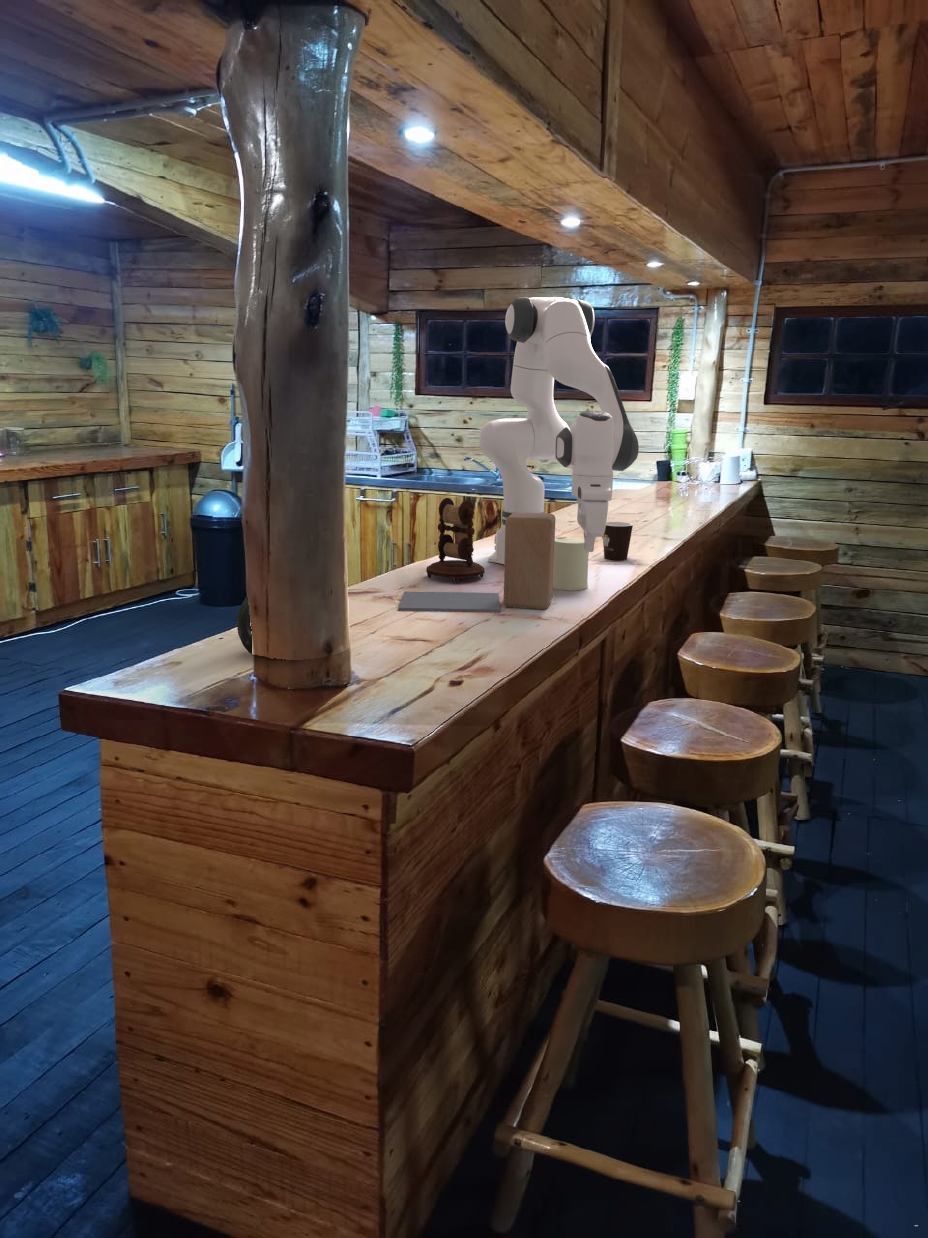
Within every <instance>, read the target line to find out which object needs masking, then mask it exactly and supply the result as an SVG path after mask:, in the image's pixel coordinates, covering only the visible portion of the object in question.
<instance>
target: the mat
mask: <svg viewBox="0 0 928 1238" xmlns="http://www.w3.org/2000/svg"><path fill="white" fill-rule="evenodd" d="M397 611H399V612H400V611H402V612H405V611H406V612H408V611H409V612H411V611H412V612H458V613H459V612H460V613H461V612H462V613H463V612H465V613H470V612H472V613H501V606H500V595H499V592H476V591H475V592H472V591H471V592H470V591H468V592H465V591H461V592H460V591H459V592H457V591H410V590H407V591H405V590H404V591H403V594H402V596H401V599H400V602H399V605H398V608H397Z"/></svg>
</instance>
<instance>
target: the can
mask: <svg viewBox="0 0 928 1238" xmlns="http://www.w3.org/2000/svg"><path fill="white" fill-rule="evenodd" d="M589 555H590V552H587V551H586V550H585V549H584V537H579V536H577V537H576V536H575V537H574V536H560V537H555V545H554V570H553V589H555V590H559V591H568V592H569V591H575V592H576V591H583V590H587V589H588V587H589V586H588V576H589V575H588V574H589V569H588V568H589Z"/></svg>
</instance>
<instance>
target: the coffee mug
mask: <svg viewBox="0 0 928 1238" xmlns="http://www.w3.org/2000/svg"><path fill="white" fill-rule="evenodd" d="M633 527H634V524H633V523H631V522H625V521H606V528H605V532H604V535H603V536H602V537H601V538H602V544H603V558H604V560H607V561H612V562H613V561H614V562H624V561H627V560H628V555H629V549H630V544H631V537H632V531H633Z"/></svg>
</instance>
